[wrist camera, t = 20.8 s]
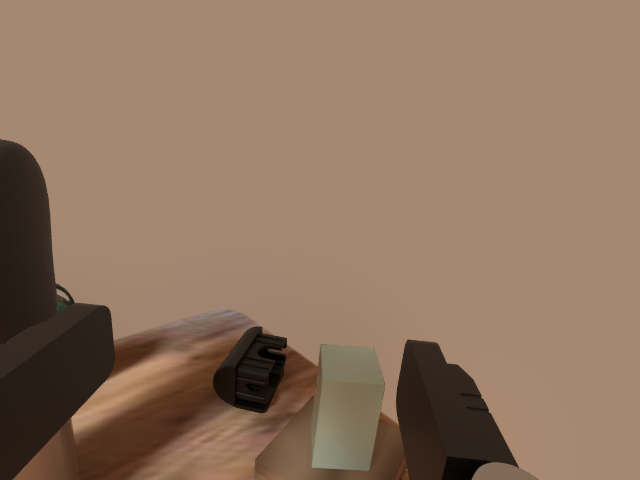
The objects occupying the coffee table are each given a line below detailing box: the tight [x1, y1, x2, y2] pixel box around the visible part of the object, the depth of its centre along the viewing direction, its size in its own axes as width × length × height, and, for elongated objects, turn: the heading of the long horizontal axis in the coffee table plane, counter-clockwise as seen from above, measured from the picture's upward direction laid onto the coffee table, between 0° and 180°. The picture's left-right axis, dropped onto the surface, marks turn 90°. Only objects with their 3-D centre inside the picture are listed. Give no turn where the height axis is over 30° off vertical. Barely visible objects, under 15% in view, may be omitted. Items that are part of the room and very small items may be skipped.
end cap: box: [213, 327, 287, 413], centre depth 51 cm, size 10×7×7 cm
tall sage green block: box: [311, 344, 385, 471], centre depth 36 cm, size 6×6×10 cm
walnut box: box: [254, 395, 407, 480], centre depth 38 cm, size 12×12×5 cm
